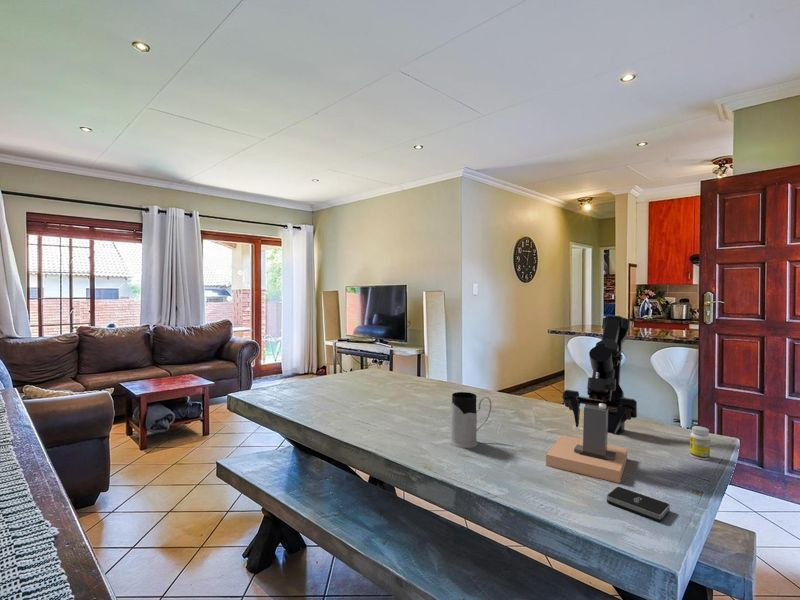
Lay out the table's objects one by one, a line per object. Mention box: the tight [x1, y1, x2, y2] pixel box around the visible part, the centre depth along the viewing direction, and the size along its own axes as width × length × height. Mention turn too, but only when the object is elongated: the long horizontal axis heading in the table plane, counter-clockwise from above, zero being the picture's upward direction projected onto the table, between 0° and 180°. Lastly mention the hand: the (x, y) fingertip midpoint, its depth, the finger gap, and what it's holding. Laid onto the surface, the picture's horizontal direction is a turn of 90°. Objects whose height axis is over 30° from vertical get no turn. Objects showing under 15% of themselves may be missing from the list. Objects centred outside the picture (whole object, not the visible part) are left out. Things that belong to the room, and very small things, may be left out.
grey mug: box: [449, 391, 492, 449], centre depth 131 cm, size 9×14×15 cm, turn 111°
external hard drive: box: [606, 486, 671, 523], centre depth 93 cm, size 7×11×2 cm, turn 43°
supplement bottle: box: [689, 425, 711, 461], centre depth 121 cm, size 5×5×8 cm
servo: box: [574, 403, 616, 460], centre depth 114 cm, size 10×4×17 cm, turn 56°
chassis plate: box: [545, 434, 628, 484], centre depth 116 cm, size 18×18×3 cm
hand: (594, 430), depth 113 cm, fingers open, 9 cm apart
